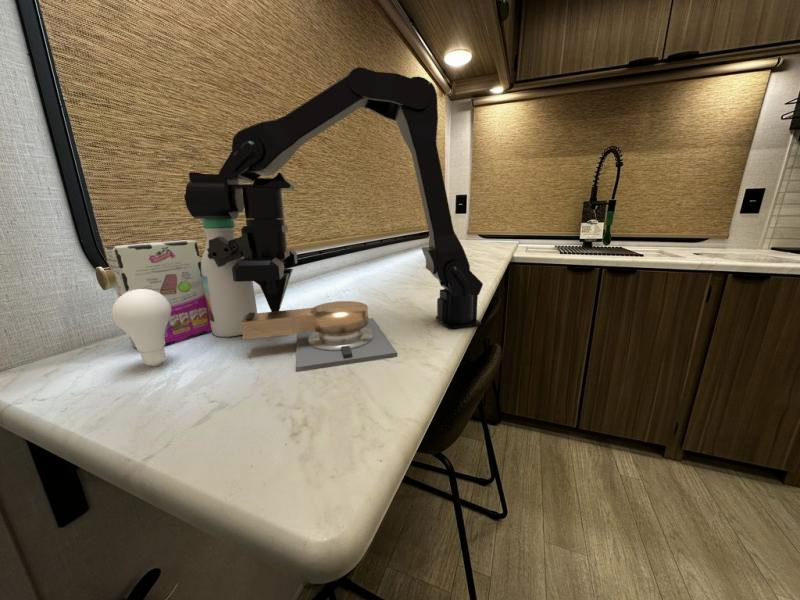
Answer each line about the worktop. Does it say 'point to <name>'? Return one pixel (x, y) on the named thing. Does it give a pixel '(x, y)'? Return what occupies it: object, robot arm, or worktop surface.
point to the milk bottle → (224, 285)
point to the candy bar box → (165, 282)
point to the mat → (343, 351)
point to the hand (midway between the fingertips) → (275, 312)
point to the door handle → (307, 320)
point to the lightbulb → (144, 322)
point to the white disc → (340, 340)
